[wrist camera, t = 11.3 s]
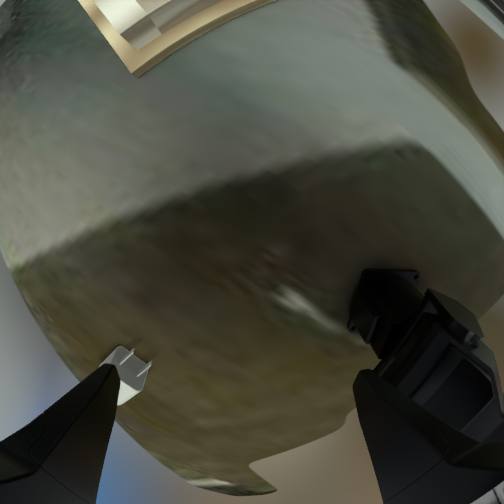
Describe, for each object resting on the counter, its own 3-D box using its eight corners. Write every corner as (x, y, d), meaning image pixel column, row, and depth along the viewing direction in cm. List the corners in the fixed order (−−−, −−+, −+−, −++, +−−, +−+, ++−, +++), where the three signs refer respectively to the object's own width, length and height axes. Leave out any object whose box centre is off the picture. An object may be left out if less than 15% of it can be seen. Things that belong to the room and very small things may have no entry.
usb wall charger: (101, 360, 25) (89, 386, 21) (131, 330, 23) (118, 358, 19) (130, 381, 26) (121, 407, 22) (163, 354, 24) (156, 384, 21)
